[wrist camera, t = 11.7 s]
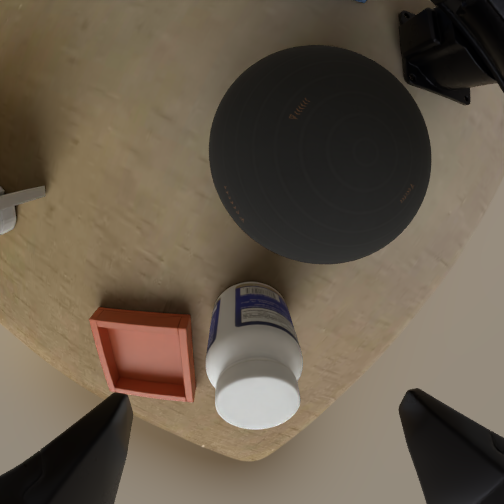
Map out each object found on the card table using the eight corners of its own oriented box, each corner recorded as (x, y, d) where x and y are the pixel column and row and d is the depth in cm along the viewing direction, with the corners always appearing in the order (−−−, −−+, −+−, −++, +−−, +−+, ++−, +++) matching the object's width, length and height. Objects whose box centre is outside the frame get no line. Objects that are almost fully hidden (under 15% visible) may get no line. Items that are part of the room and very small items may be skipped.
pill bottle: (245, 354, 22) (248, 447, 13) (198, 309, 20) (176, 400, 12) (302, 315, 21) (333, 405, 12) (256, 264, 19) (268, 344, 11)
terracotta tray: (190, 314, 20) (186, 328, 19) (196, 387, 23) (193, 402, 21) (99, 306, 20) (88, 318, 18) (116, 377, 22) (109, 391, 20)
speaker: (191, 191, 18) (138, 231, 8) (261, 53, 15) (283, -38, 6) (330, 255, 19) (398, 339, 10) (394, 128, 17) (502, 121, 7)
